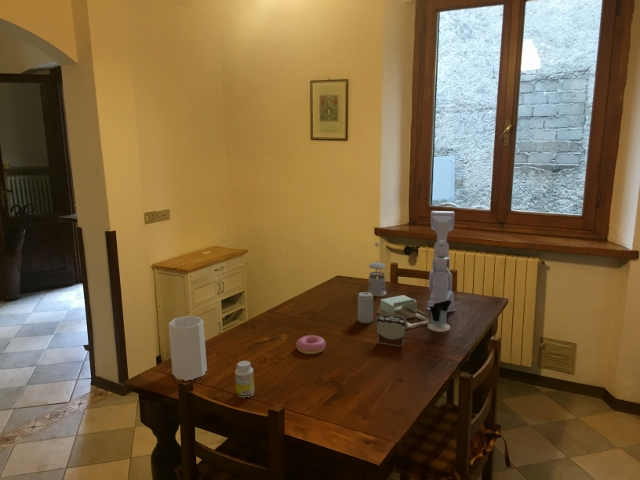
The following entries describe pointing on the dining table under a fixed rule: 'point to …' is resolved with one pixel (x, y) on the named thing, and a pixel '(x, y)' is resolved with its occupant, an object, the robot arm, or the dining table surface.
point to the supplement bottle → (244, 379)
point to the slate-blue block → (440, 318)
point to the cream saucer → (439, 327)
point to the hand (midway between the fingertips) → (439, 319)
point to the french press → (377, 284)
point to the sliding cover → (397, 303)
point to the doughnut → (311, 344)
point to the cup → (187, 347)
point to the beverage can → (365, 307)
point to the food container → (391, 329)
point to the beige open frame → (410, 316)
